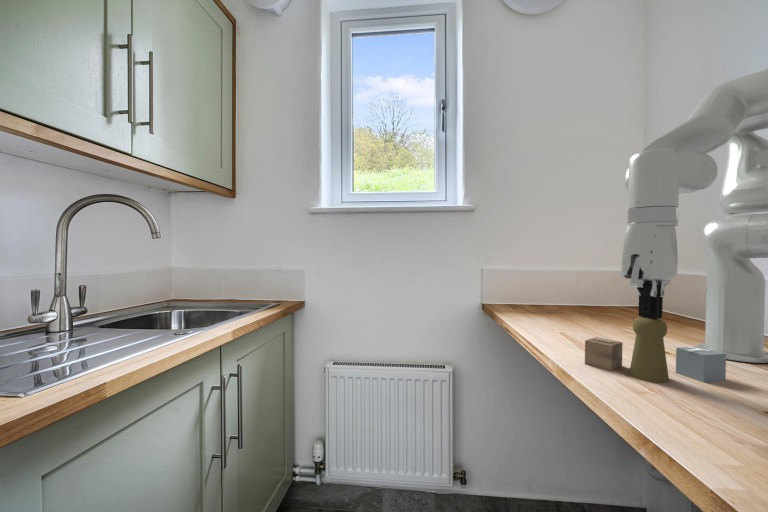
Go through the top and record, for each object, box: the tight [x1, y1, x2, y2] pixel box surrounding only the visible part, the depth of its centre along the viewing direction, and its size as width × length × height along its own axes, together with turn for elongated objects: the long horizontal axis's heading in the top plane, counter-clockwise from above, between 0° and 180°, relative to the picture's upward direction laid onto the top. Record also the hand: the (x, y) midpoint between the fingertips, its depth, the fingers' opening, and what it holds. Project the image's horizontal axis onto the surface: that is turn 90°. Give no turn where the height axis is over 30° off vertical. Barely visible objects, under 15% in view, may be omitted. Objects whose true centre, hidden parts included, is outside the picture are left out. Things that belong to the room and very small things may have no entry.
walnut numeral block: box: [584, 336, 624, 372], centre depth 74 cm, size 5×5×5 cm
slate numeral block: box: [675, 345, 727, 383], centre depth 68 cm, size 5×5×5 cm
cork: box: [628, 316, 670, 384], centre depth 67 cm, size 6×6×11 cm
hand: (650, 317), depth 67 cm, fingers closed
